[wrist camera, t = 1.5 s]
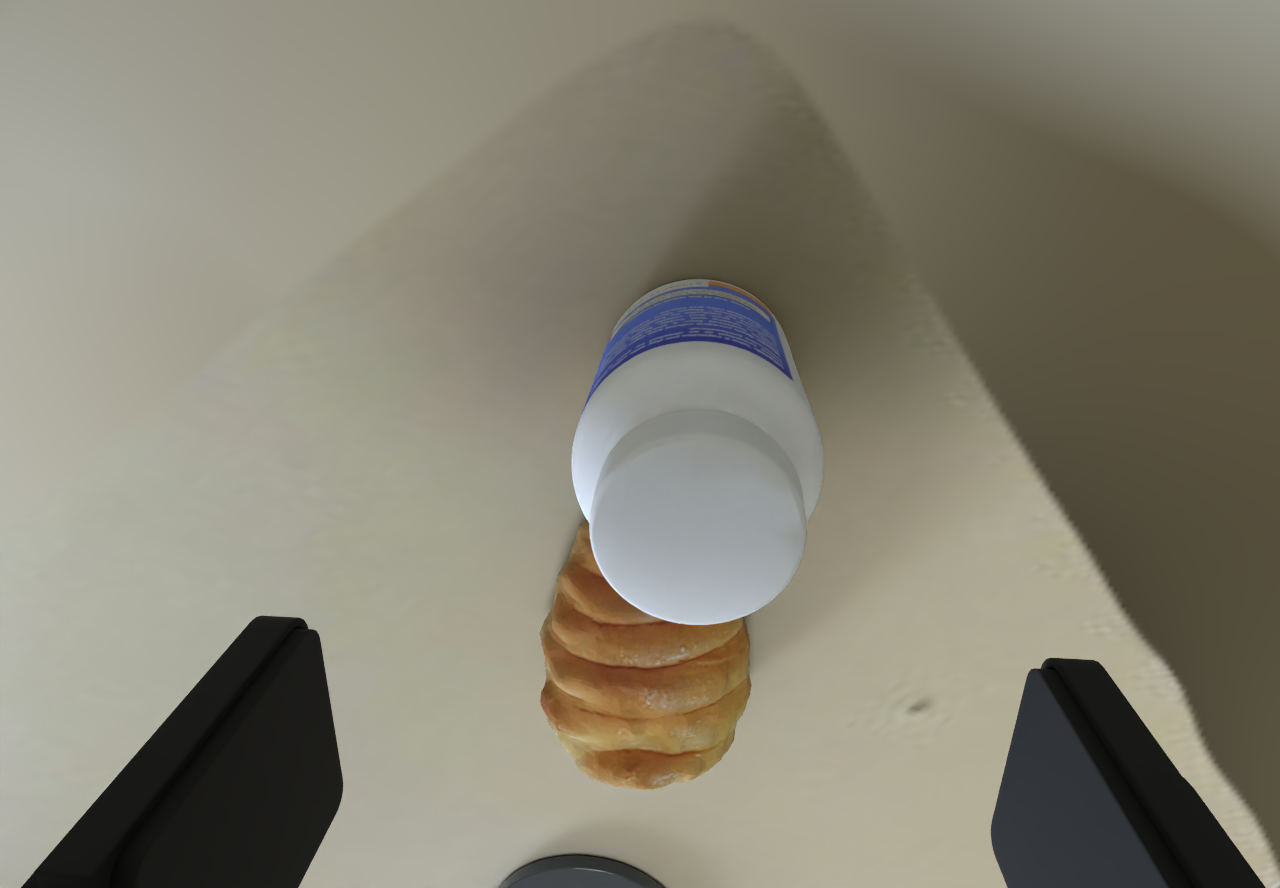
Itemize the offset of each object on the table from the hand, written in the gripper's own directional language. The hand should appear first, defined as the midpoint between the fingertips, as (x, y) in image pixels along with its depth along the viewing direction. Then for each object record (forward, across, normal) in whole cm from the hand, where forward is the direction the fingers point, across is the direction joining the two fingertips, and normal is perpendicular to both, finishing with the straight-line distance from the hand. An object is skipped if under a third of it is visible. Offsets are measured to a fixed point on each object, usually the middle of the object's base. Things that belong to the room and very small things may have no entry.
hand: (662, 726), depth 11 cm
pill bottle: (+14, 0, -1) cm, 14 cm away
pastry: (+14, +1, +8) cm, 17 cm away
